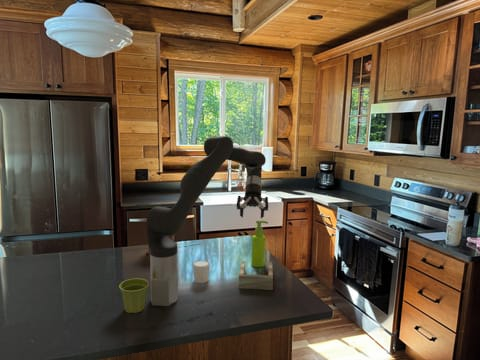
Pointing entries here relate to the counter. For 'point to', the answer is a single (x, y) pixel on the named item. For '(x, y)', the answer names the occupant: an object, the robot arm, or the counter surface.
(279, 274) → the counter surface
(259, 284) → the shelf
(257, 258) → the soap dispenser
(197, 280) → the shot glass
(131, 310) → the plant pot
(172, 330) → the counter surface
